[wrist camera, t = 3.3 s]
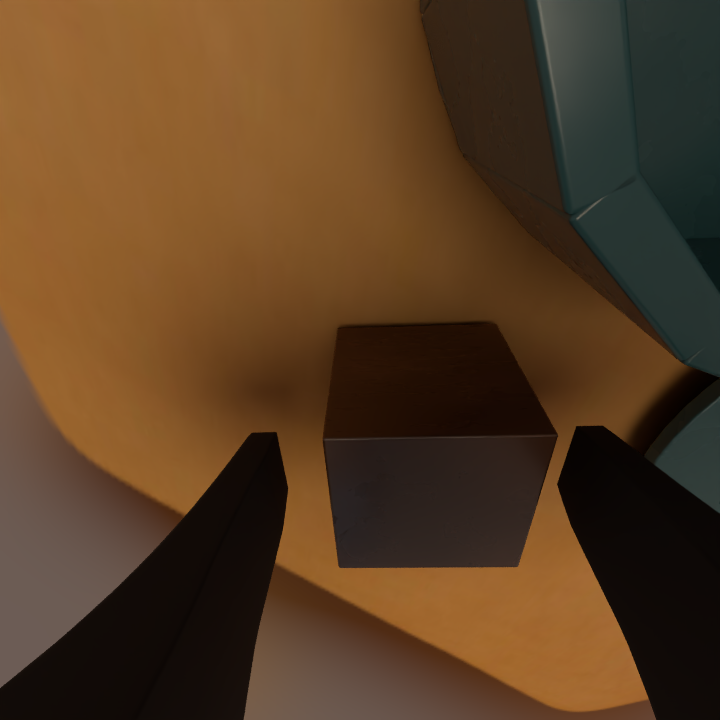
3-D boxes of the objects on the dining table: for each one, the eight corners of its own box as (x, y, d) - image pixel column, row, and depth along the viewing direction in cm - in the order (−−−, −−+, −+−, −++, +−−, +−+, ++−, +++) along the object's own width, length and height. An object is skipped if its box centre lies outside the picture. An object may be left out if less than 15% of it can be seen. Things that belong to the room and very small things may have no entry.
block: (496, 322, 11) (559, 434, 7) (478, 439, 14) (518, 568, 10) (337, 327, 11) (321, 439, 8) (347, 441, 14) (338, 568, 10)
